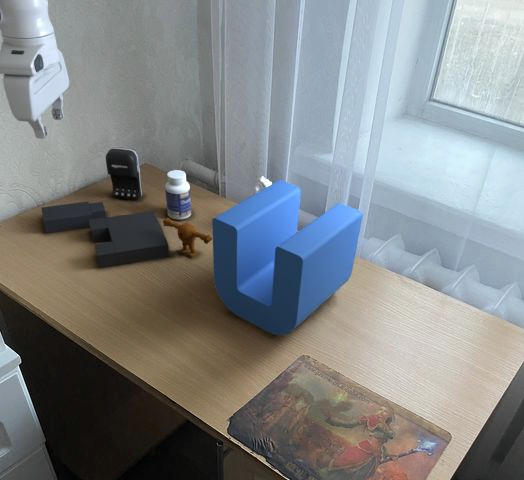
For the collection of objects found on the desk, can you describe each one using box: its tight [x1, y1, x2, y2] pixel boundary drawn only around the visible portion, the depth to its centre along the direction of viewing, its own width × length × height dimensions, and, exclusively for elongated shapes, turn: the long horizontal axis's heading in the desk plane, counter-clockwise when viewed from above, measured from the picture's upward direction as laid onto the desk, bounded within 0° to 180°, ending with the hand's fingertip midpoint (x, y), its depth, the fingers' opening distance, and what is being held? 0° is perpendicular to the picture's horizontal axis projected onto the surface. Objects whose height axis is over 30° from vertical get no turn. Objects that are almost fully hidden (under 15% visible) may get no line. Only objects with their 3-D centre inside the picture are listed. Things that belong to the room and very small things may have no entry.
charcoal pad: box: [40, 200, 108, 234], centre depth 117 cm, size 13×6×3 cm, turn 110°
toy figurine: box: [162, 217, 213, 258], centre depth 108 cm, size 12×4×7 cm, turn 56°
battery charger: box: [105, 146, 143, 201], centre depth 123 cm, size 7×4×11 cm, turn 82°
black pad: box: [88, 210, 170, 269], centre depth 111 cm, size 14×14×3 cm
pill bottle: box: [164, 169, 192, 221], centre depth 119 cm, size 5×5×10 cm
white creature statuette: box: [252, 175, 273, 195], centre depth 115 cm, size 10×9×12 cm
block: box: [211, 179, 364, 336], centre depth 95 cm, size 18×18×18 cm
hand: (50, 127), depth 106 cm, fingers open, 8 cm apart
